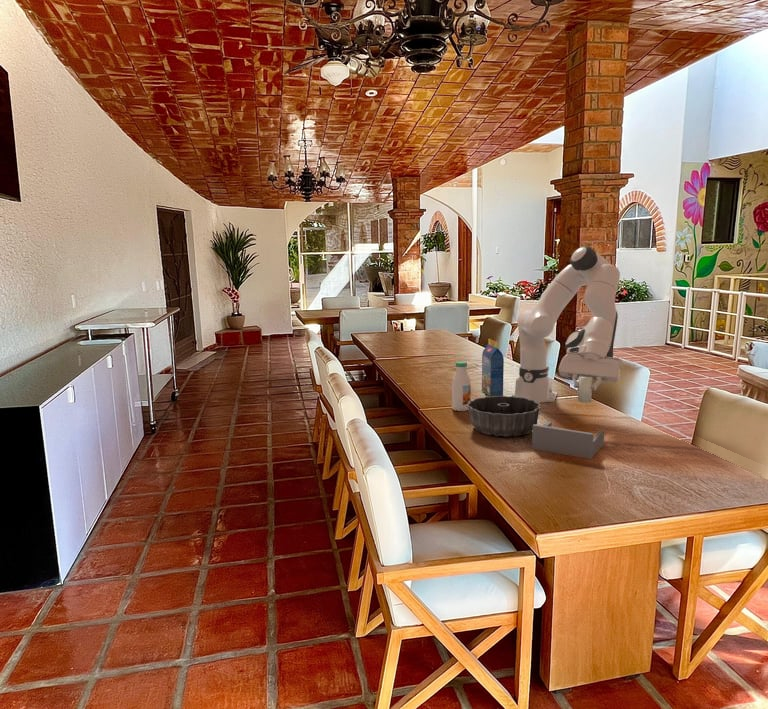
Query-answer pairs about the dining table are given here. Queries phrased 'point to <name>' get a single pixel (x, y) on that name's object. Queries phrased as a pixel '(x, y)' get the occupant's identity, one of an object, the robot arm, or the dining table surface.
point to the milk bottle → (461, 388)
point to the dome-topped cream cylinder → (585, 389)
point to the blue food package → (492, 370)
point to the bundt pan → (503, 415)
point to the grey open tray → (566, 441)
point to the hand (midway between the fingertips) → (584, 388)
